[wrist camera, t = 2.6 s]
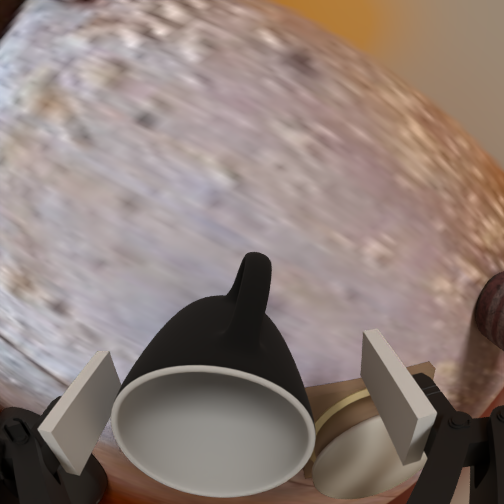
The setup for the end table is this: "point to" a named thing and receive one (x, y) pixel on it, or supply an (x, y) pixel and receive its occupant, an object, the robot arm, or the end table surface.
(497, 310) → the can
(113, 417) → the mug
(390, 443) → the stand
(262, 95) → the end table surface
